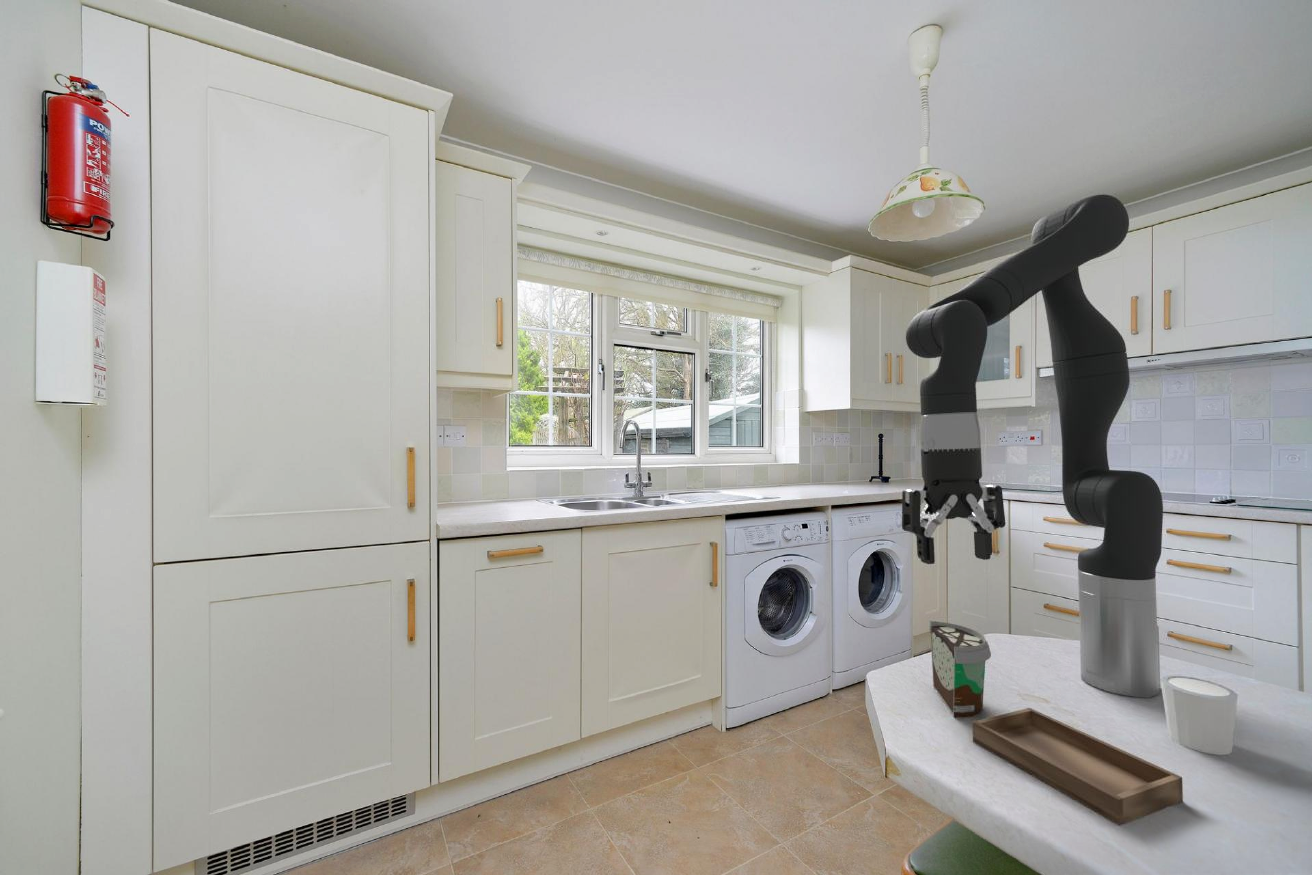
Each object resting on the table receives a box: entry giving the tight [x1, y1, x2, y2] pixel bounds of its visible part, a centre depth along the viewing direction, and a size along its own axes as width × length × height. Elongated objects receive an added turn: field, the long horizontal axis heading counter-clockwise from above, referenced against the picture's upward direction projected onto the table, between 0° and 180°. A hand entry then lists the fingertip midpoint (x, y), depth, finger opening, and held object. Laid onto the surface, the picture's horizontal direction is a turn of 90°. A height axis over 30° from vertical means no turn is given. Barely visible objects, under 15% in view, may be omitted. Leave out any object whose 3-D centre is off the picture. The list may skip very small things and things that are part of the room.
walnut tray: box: [972, 707, 1184, 826], centre depth 63 cm, size 10×16×2 cm, turn 20°
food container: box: [929, 620, 992, 719], centre depth 79 cm, size 12×6×10 cm, turn 168°
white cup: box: [1160, 675, 1239, 756], centre depth 68 cm, size 7×7×7 cm
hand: (955, 560), depth 76 cm, fingers open, 8 cm apart
